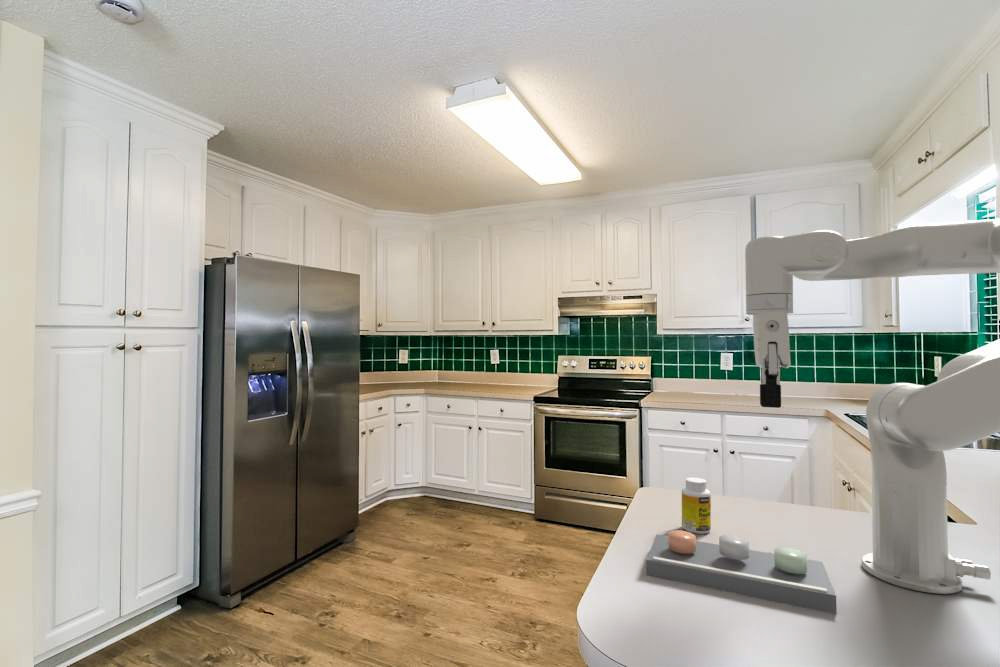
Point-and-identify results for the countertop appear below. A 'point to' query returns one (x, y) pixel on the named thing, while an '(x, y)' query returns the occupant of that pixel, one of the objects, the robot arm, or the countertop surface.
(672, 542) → the terracotta button
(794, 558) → the sage button
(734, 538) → the grey button
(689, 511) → the supplement bottle
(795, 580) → the button panel
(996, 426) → the robot arm
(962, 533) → the countertop surface
